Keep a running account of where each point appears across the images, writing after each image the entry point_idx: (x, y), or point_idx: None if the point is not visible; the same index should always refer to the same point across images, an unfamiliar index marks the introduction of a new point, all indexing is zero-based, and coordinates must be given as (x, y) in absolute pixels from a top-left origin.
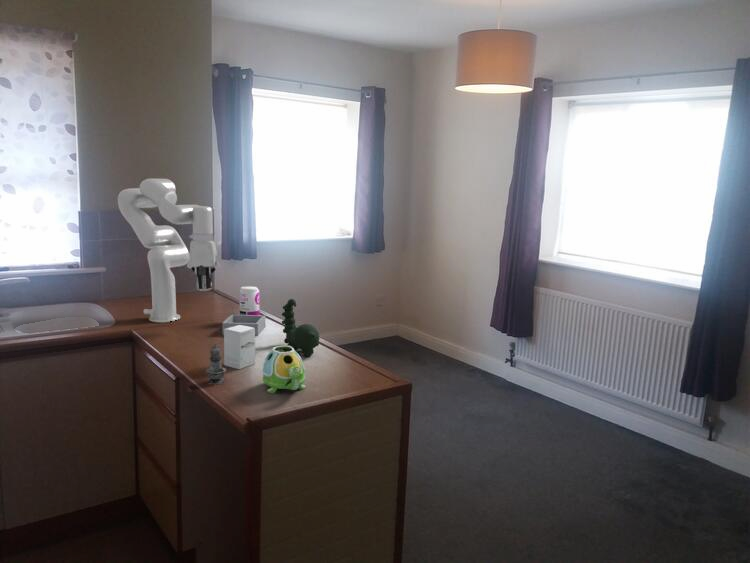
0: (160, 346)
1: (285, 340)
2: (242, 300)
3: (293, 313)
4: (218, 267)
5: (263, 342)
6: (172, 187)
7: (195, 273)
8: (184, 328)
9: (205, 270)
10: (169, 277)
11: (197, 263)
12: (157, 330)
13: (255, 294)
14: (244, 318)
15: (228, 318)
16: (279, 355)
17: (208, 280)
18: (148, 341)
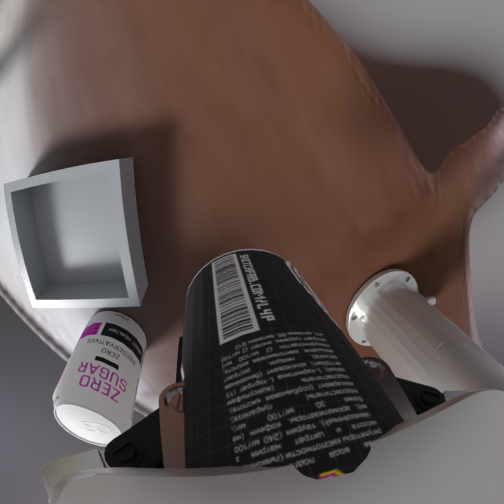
0: (299, 7)
1: None
2: (104, 369)
3: None
4: (59, 469)
5: (3, 117)
6: None
7: (375, 361)
8: (304, 219)
9: (228, 406)
10: (451, 387)
11: (435, 467)
12: (377, 183)
13: (55, 389)
14: (93, 293)
15: (123, 241)
16: None
17: (192, 323)
18: (356, 57)
